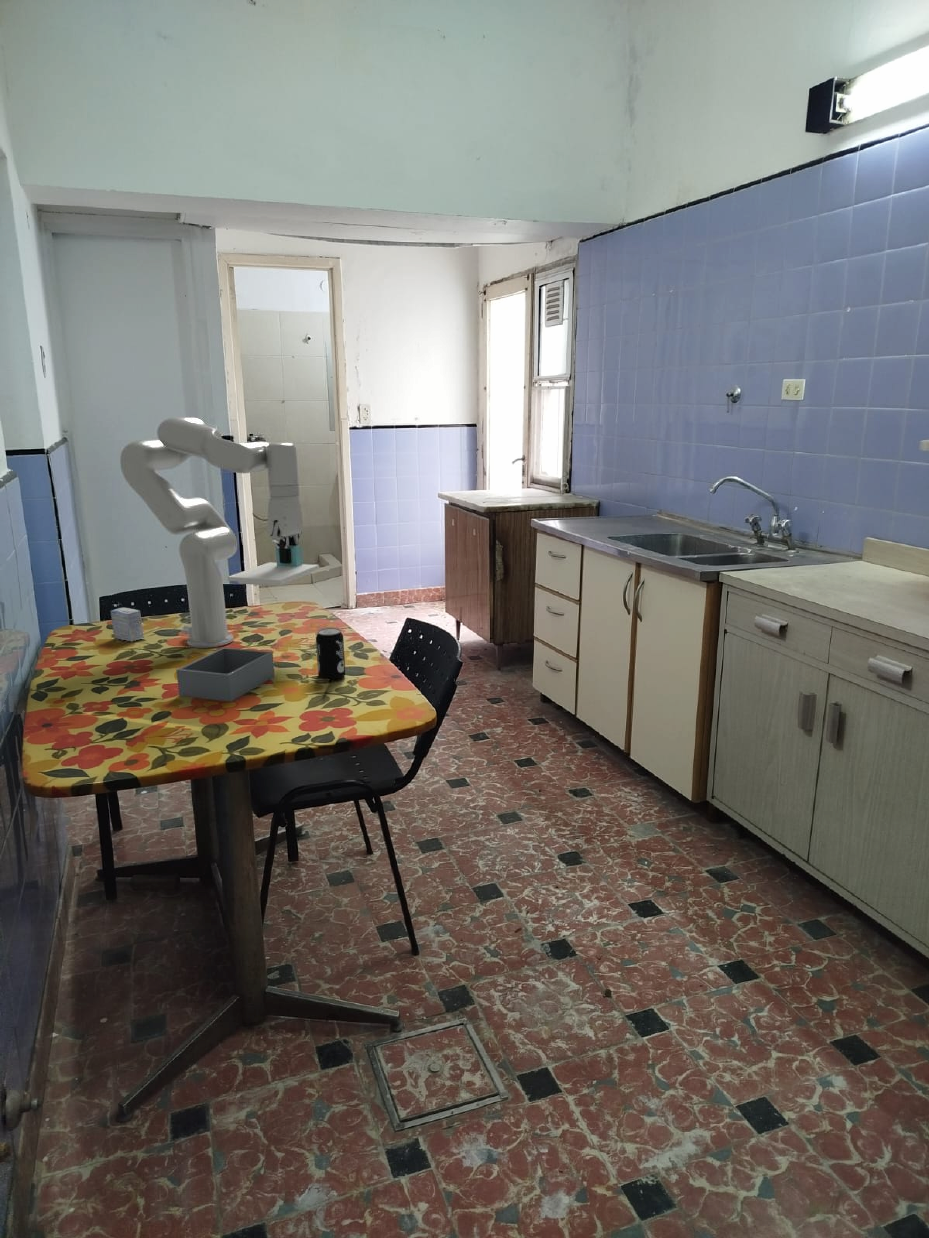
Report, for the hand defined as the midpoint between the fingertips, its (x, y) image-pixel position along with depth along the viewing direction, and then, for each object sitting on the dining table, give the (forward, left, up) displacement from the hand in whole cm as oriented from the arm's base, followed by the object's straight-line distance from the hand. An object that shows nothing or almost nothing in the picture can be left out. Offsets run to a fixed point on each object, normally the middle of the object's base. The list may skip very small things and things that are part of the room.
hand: (289, 561), depth 215 cm
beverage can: (+20, -17, -25) cm, 36 cm away
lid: (0, -7, -3) cm, 8 cm away
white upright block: (-53, -3, -25) cm, 59 cm away
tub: (0, -31, -25) cm, 40 cm away
